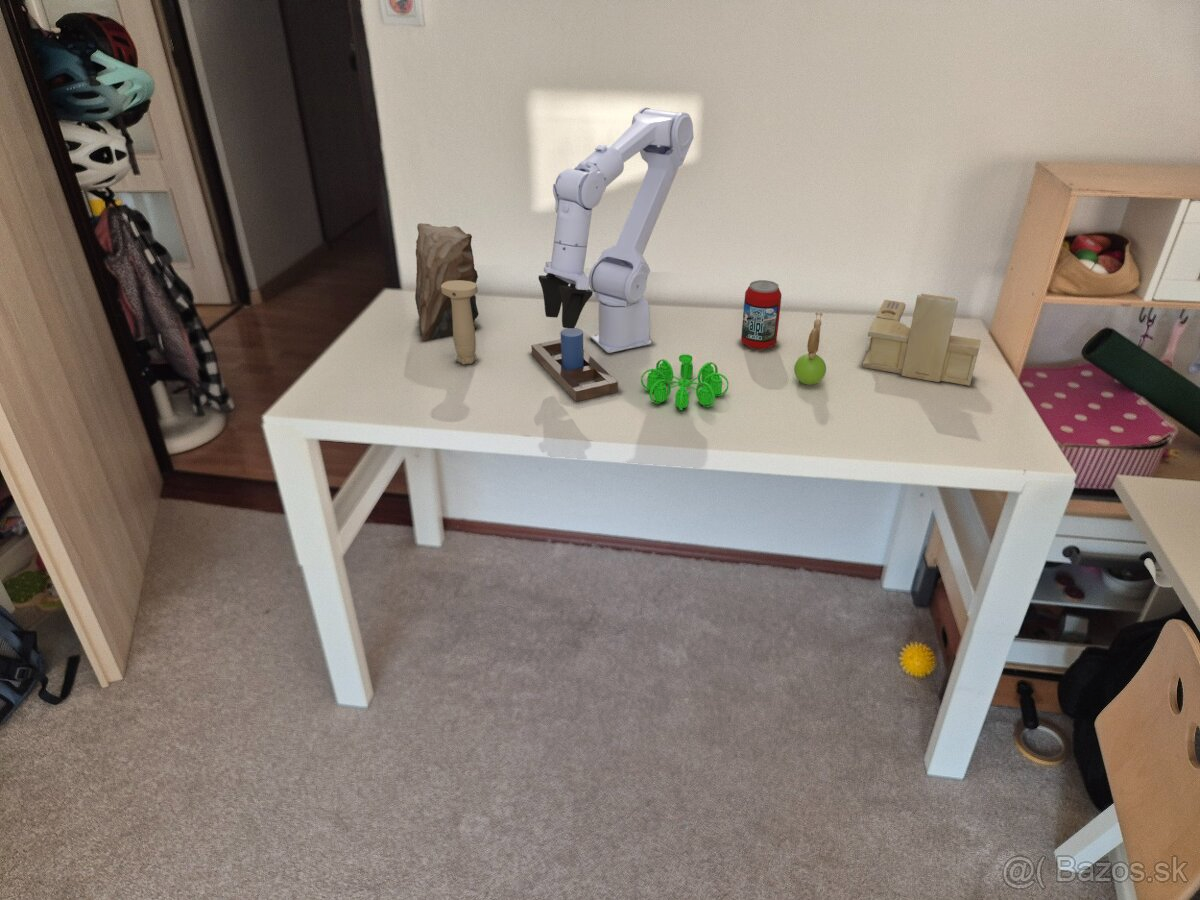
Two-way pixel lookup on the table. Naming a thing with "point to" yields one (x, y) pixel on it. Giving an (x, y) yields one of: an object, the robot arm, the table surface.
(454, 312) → the handle
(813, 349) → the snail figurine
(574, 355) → the peg
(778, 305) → the beverage can
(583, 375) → the peg board
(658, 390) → the chandelier
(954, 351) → the toy kitchen set
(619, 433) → the table surface
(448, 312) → the brown rock
